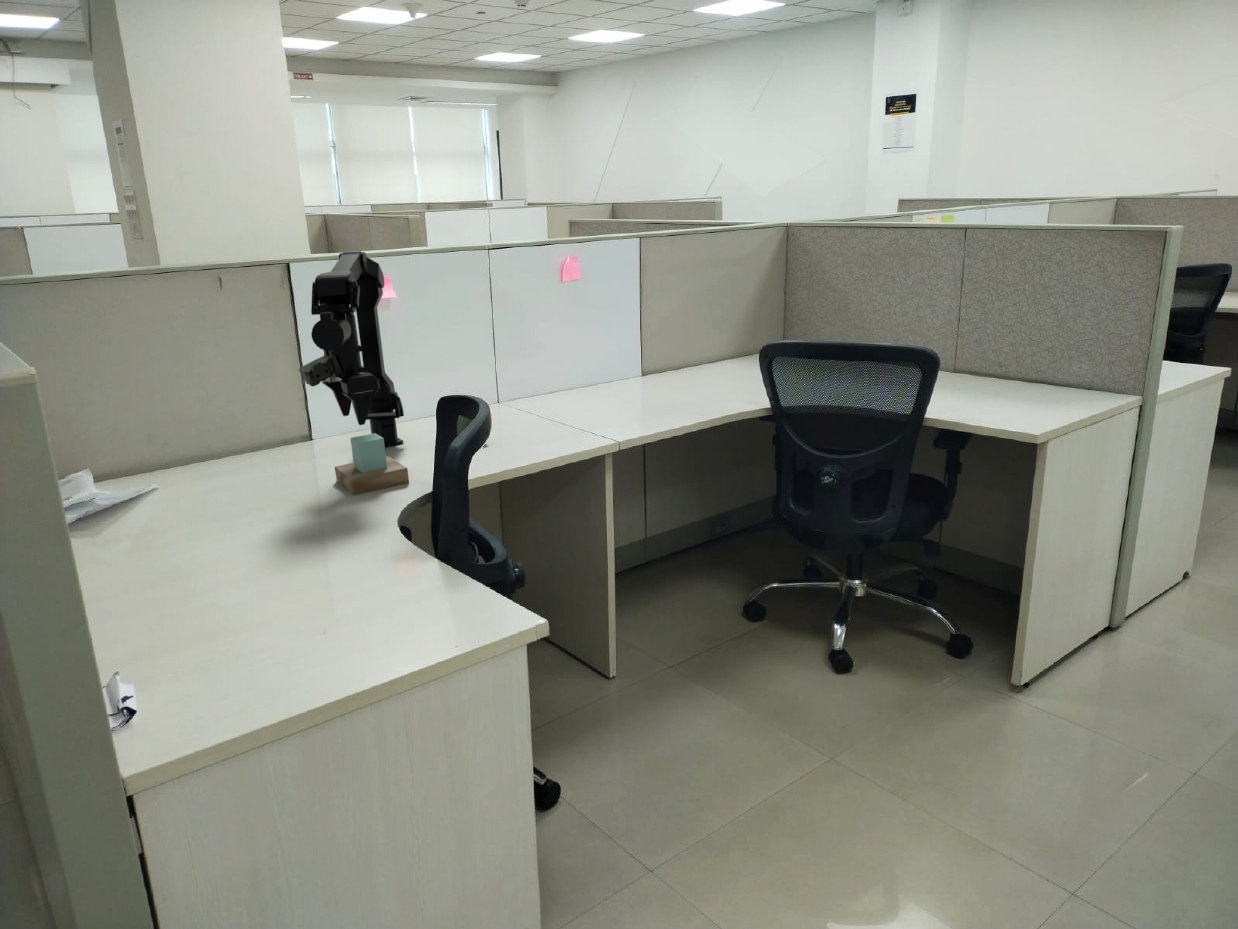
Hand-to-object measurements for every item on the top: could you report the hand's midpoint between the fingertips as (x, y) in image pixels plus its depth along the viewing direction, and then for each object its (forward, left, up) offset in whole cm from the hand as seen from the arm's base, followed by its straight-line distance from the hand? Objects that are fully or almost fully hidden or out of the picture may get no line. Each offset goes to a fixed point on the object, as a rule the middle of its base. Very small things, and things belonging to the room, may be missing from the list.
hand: (353, 420), depth 173 cm
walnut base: (+3, +1, -12) cm, 13 cm away
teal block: (+3, +1, -9) cm, 10 cm away
